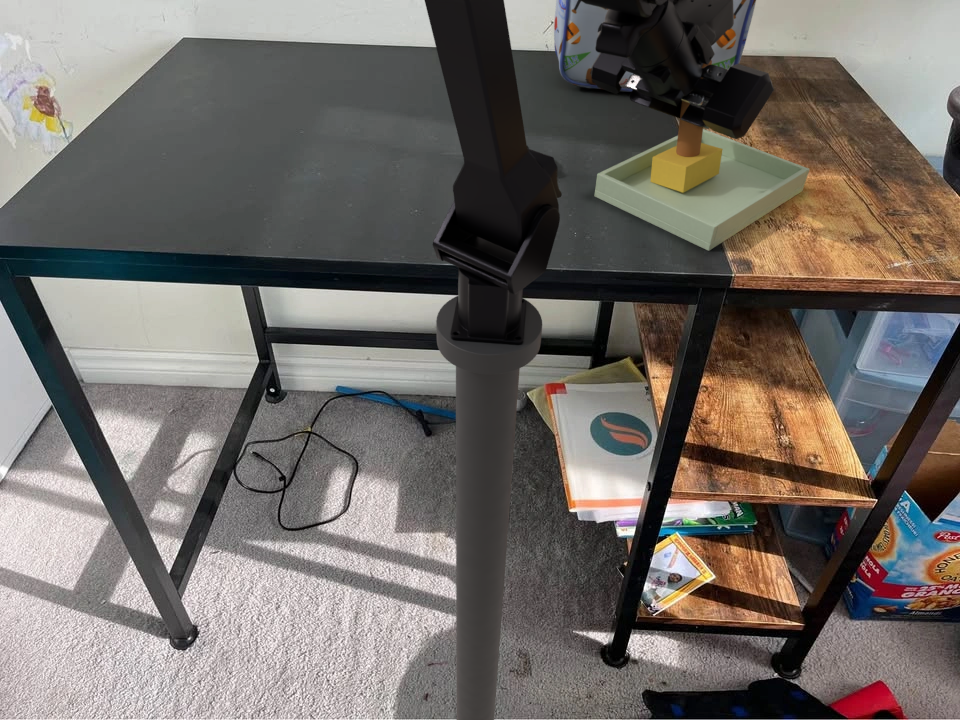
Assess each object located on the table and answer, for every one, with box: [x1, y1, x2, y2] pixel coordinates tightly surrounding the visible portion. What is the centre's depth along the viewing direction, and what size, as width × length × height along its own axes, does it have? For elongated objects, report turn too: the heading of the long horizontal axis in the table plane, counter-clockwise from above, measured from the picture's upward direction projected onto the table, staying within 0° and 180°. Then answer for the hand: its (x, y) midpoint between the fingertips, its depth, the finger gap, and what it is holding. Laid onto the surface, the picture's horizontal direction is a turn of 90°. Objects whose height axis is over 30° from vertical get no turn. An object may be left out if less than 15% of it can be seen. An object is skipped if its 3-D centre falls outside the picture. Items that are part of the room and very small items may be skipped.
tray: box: [593, 128, 810, 251], centre depth 85 cm, size 19×15×3 cm
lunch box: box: [553, 0, 757, 93], centre depth 103 cm, size 28×10×22 cm, turn 89°
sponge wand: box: [650, 60, 723, 193], centre depth 82 cm, size 7×4×13 cm, turn 133°
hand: (698, 120), depth 83 cm, fingers closed on sponge wand, 3 cm apart
